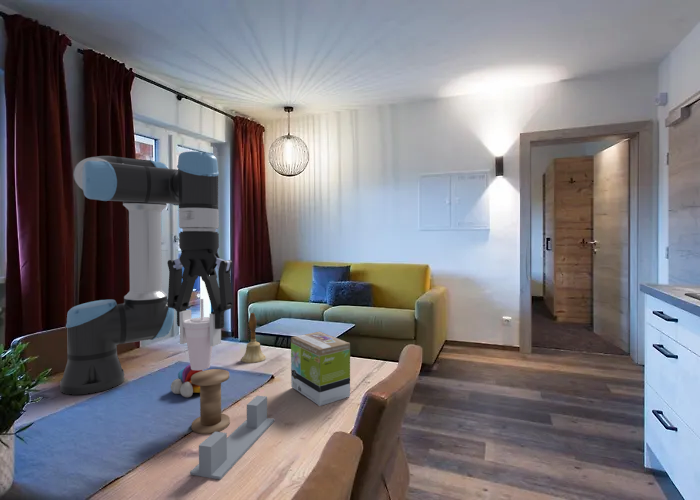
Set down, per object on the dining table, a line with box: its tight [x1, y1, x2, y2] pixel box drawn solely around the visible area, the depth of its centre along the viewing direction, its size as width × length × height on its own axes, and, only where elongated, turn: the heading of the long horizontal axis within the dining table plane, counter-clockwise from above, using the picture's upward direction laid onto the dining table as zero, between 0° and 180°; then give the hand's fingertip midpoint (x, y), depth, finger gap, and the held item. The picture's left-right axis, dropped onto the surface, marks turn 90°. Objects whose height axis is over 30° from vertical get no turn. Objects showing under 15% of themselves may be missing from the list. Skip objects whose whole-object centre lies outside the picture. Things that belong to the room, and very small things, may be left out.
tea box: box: [290, 331, 351, 407], centre depth 105 cm, size 15×10×15 cm, turn 37°
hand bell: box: [240, 312, 267, 364], centre depth 133 cm, size 8×8×16 cm
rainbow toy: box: [170, 364, 203, 398], centre depth 105 cm, size 8×10×7 cm
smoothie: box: [183, 298, 213, 371], centre depth 79 cm, size 6×6×14 cm
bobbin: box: [191, 368, 231, 435], centre depth 87 cm, size 8×8×11 cm
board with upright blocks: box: [189, 395, 275, 480], centre depth 78 cm, size 6×22×6 cm, turn 166°
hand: (200, 343), depth 79 cm, fingers closed on smoothie, 6 cm apart
